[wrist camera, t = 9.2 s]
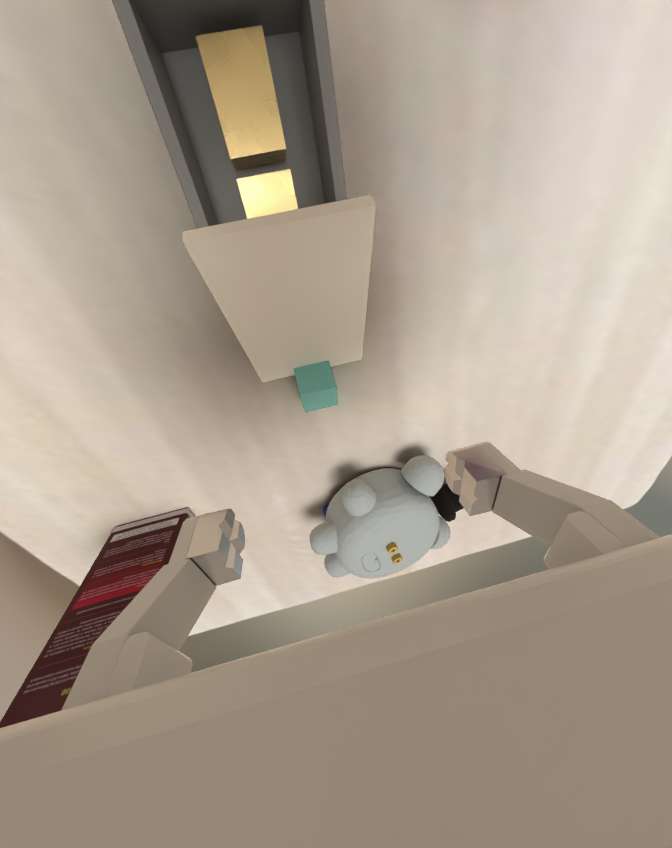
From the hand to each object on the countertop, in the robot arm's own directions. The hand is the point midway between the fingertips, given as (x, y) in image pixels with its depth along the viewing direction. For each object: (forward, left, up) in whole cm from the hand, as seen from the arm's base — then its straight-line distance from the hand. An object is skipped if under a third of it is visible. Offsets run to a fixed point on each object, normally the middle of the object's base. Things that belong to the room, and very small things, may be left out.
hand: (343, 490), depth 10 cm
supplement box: (+16, -21, -16) cm, 31 cm away
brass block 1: (-14, 0, -15) cm, 21 cm away
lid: (-4, 0, -13) cm, 14 cm away
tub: (-12, 0, -16) cm, 20 cm away
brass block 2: (-9, 0, -15) cm, 18 cm away
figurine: (+21, +6, -16) cm, 27 cm away
